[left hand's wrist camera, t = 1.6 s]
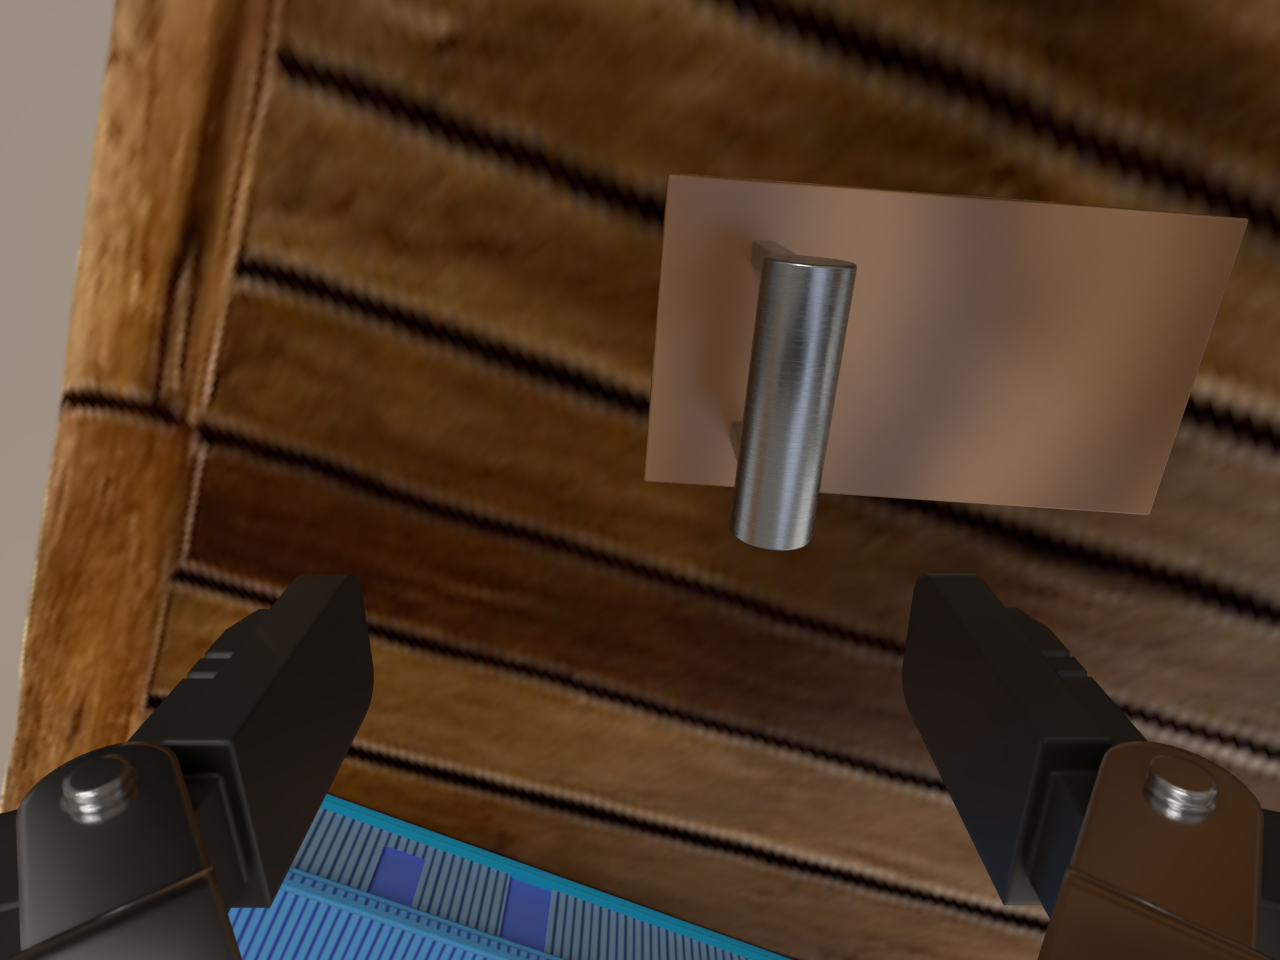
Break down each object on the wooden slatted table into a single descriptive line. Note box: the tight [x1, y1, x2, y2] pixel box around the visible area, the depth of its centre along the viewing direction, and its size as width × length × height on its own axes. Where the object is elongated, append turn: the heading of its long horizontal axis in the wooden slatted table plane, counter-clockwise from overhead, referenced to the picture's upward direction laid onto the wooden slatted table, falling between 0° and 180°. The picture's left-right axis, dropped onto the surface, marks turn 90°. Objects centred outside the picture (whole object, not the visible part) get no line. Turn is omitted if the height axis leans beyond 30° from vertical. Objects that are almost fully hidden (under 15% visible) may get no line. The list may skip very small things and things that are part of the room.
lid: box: [644, 174, 1248, 551], centre depth 22 cm, size 17×10×8 cm, turn 86°
